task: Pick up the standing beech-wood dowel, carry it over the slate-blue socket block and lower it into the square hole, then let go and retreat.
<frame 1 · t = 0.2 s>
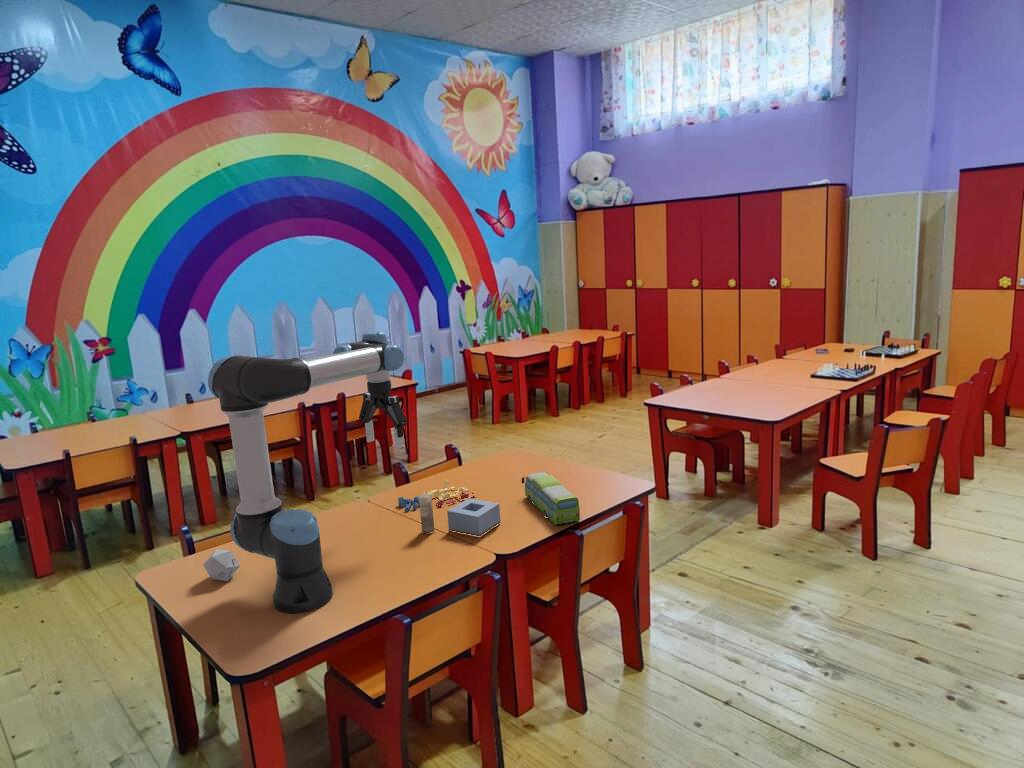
hand: (384, 444, 226), 28 cm above the table, fingers open, 13 cm apart
toy bus: (551, 510, 237), on the table
socket block: (474, 527, 225), on the table
peg: (428, 531, 224), on the table
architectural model: (458, 496, 255), on the table
die: (223, 578, 199), on the table
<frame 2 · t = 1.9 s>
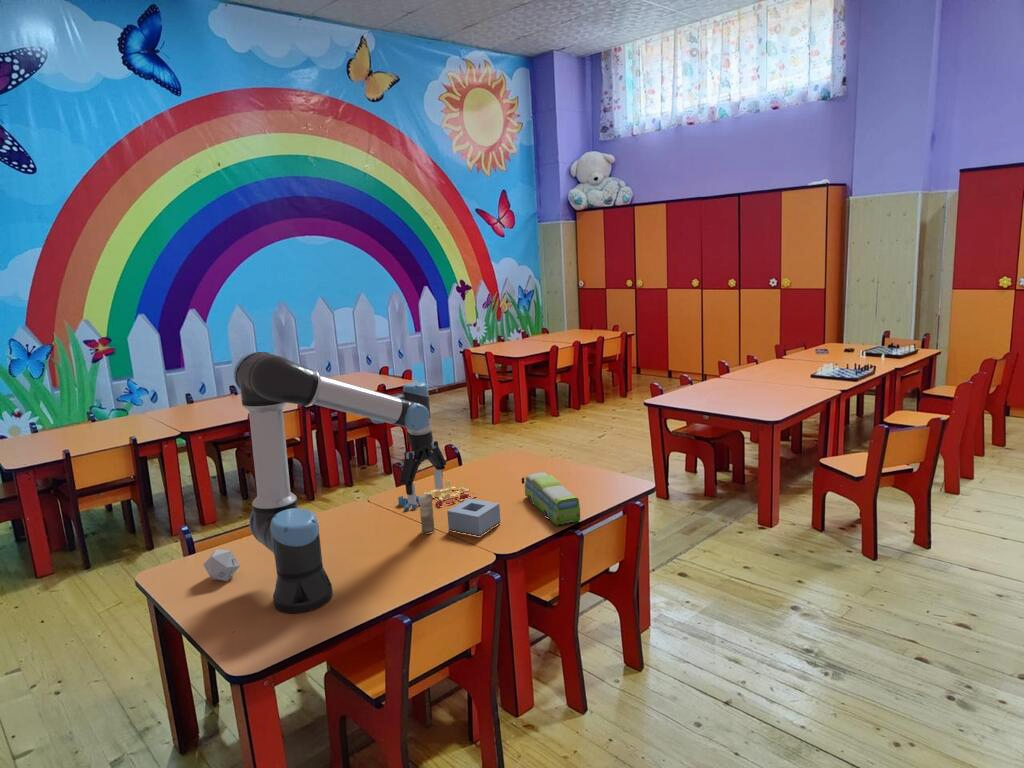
hand: (426, 496, 221), 12 cm above the table, fingers open, 13 cm apart
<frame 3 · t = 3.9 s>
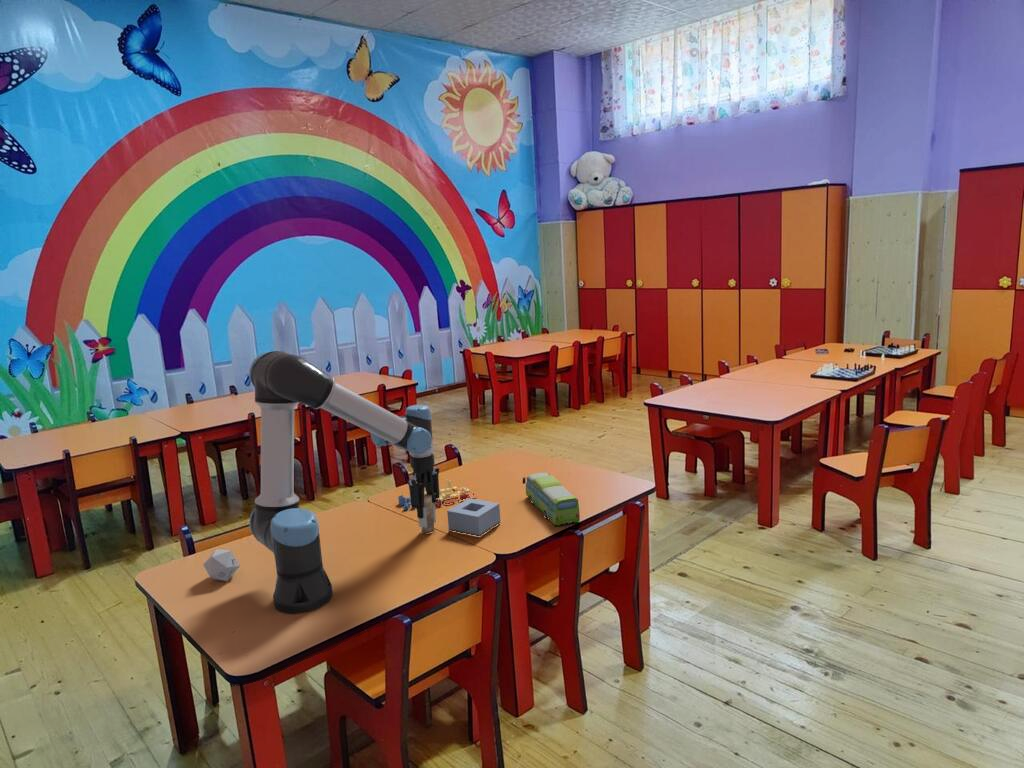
hand: (427, 523, 223), 3 cm above the table, fingers closed on peg, 4 cm apart
peg: (428, 531, 224), on the table, touching gripper
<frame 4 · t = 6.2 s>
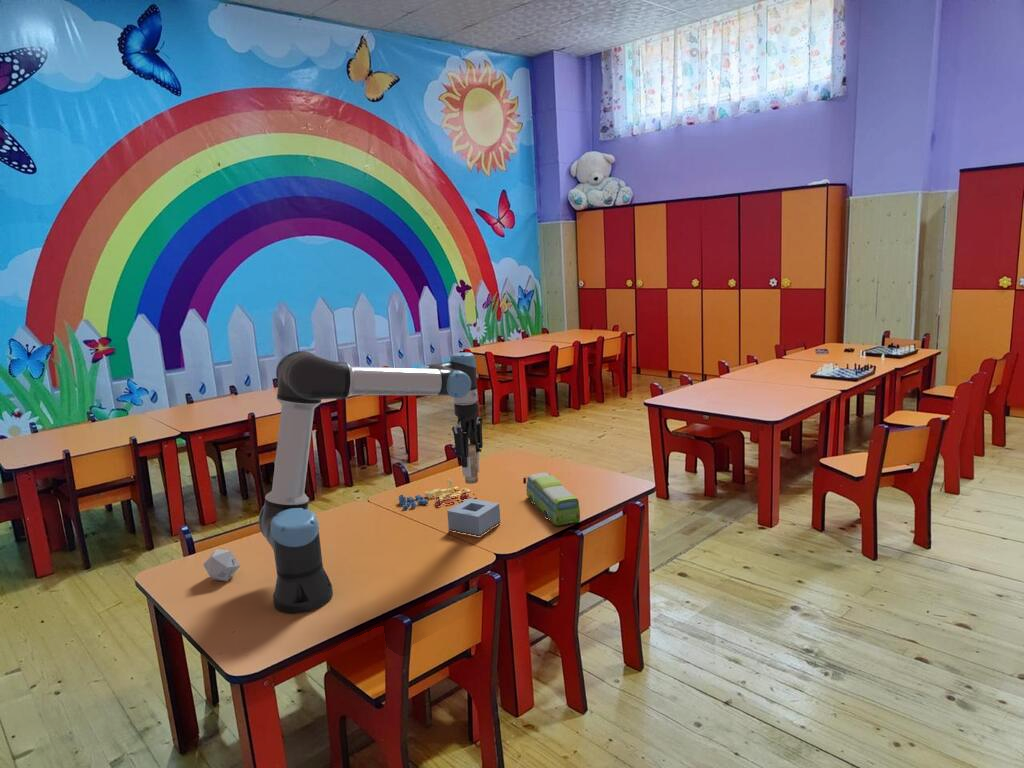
hand: (471, 473, 221), 18 cm above the table, fingers closed on peg, 4 cm apart
peg: (471, 481, 222), point 16 cm above the table, touching gripper
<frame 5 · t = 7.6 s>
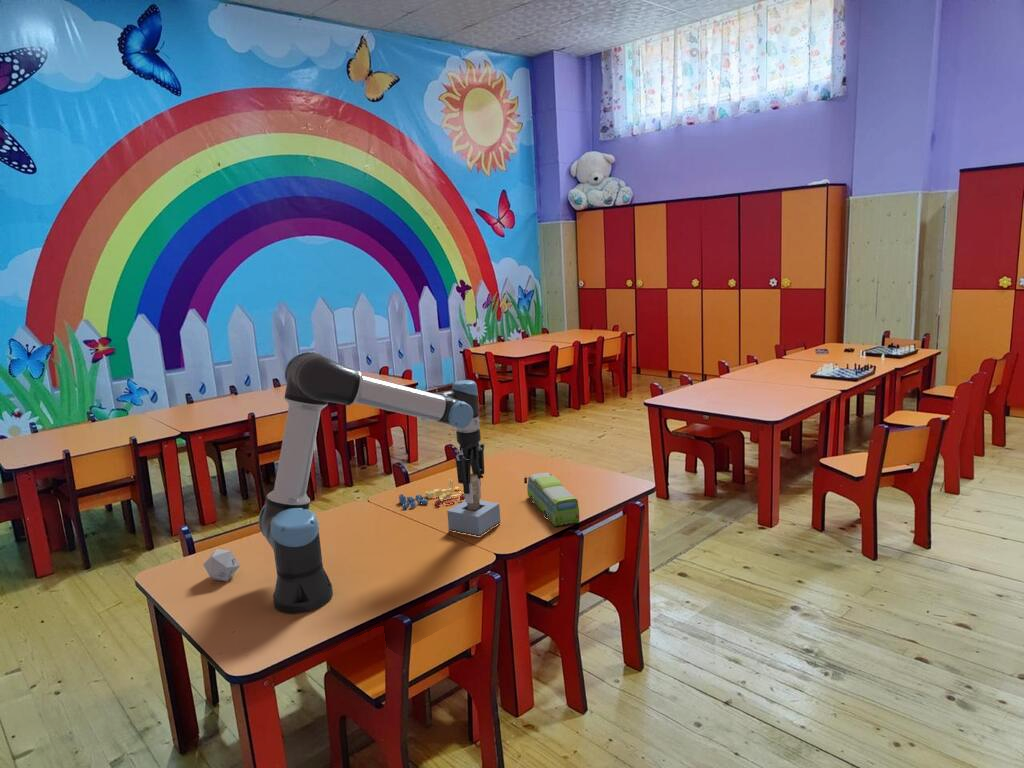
hand: (473, 499, 223), 9 cm above the table, fingers closed on peg, 4 cm apart
peg: (474, 511, 224), point 6 cm above the table, touching gripper
when the fingers open (8 cm above the table, at t = 8.6 s): peg drops 3 cm, resting on socket block.
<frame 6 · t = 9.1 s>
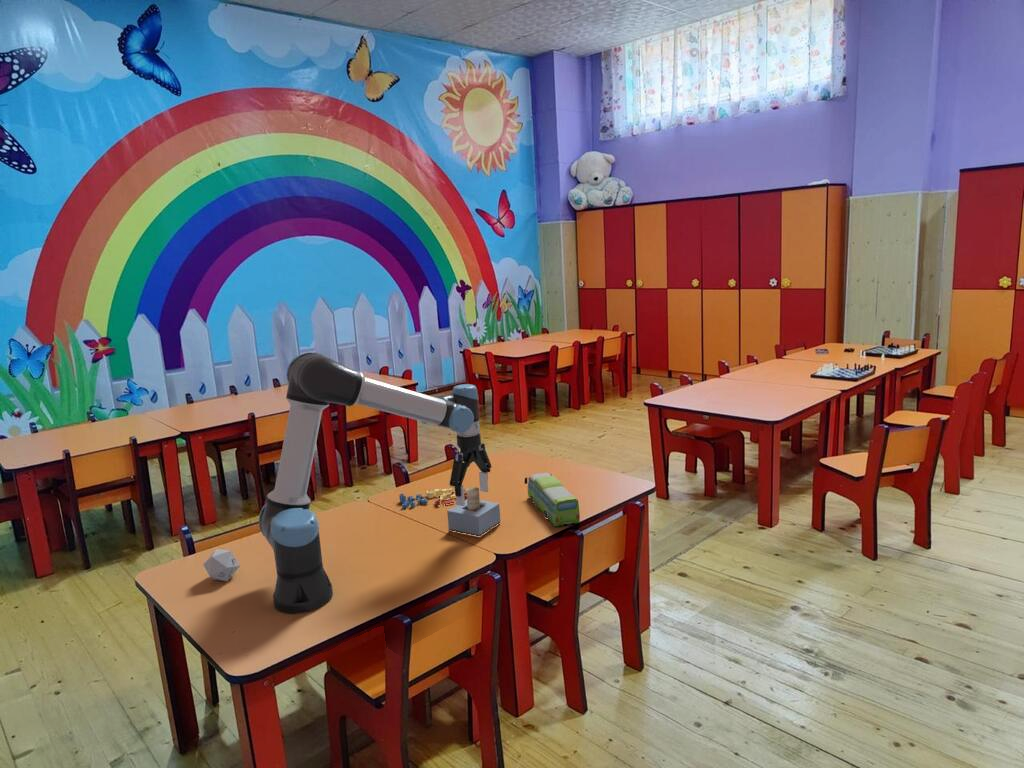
hand: (472, 498, 223), 10 cm above the table, fingers open, 12 cm apart
peg: (475, 524, 225), point 1 cm above the table, touching socket block
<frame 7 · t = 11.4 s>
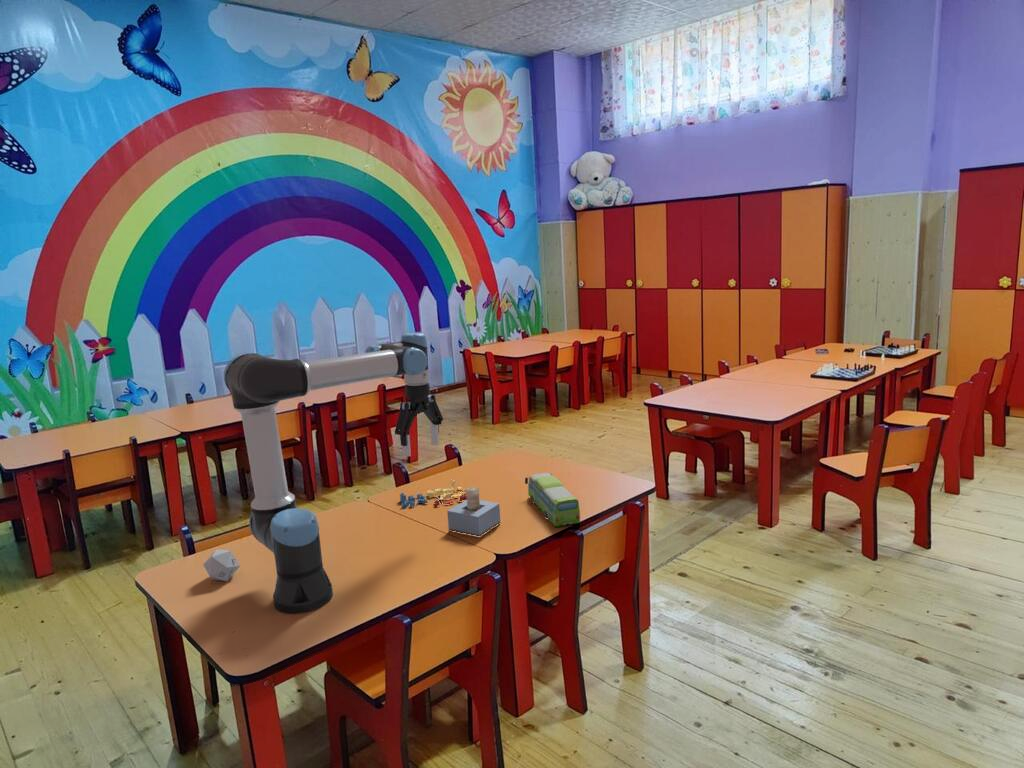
hand: (421, 449, 218), 27 cm above the table, fingers open, 13 cm apart
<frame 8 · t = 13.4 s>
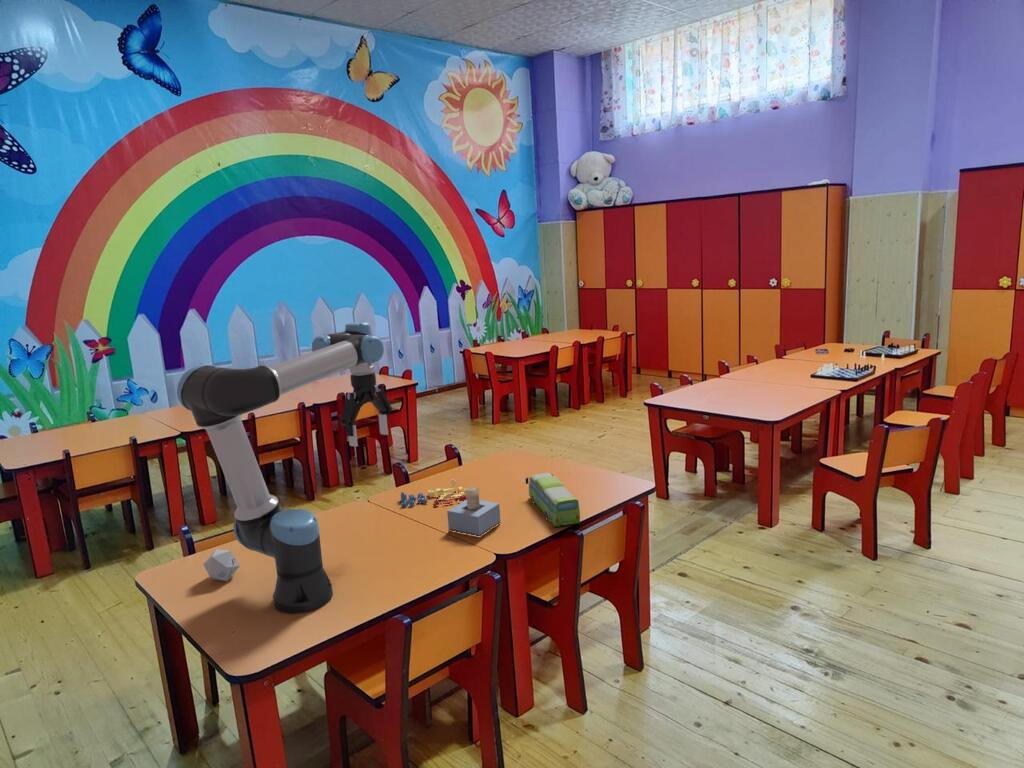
hand: (369, 440, 217), 32 cm above the table, fingers open, 13 cm apart
at the end: peg 0.2 cm off-centre on the socket block, point 1.0 cm above the socket block's base; peg tilted 1°; the gripper is holding nothing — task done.
